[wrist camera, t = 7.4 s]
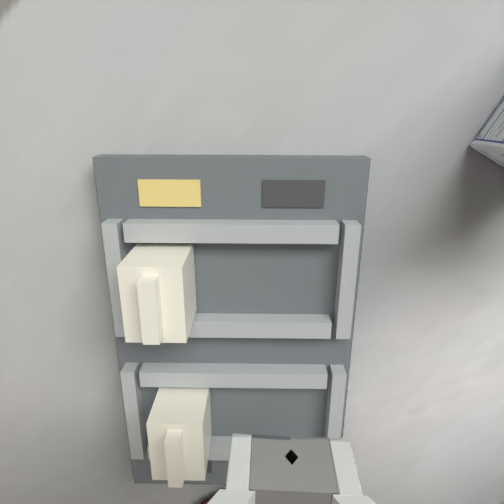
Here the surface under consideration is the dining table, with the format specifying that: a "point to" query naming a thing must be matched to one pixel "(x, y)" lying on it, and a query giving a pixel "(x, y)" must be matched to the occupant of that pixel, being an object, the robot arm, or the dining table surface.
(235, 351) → the switch board
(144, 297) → the tab
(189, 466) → the tab
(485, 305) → the dining table surface
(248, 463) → the robot arm
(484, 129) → the medicine box
